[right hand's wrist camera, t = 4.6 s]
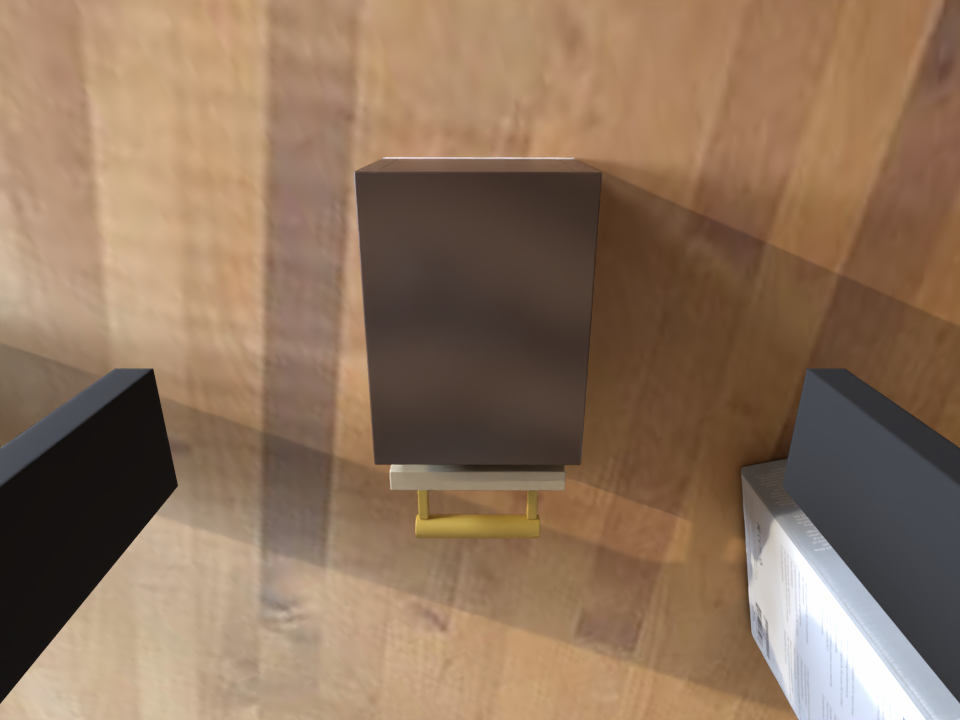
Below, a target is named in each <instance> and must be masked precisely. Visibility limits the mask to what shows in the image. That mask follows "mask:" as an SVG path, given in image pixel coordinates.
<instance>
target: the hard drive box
mask: <svg viewBox="0 0 960 720" xmlns="http://www.w3.org/2000/svg"><path fill="white" fill-rule="evenodd" d="M787 460H788V459H782V460H777V461H771V462H766V463H761V464H756V465H750V466H745V467H743V468H742V469H741V477H742V489H743V510H744V522H745V536H746V554H747V570H748V593H749V605H750V617H751V631H752V635H753V637H754V639H755V641H756V643H757V645H758V647H759V649H760V650H761V652H762V654H763V656H764V658H765V660H766V661H767V663H768V665H769V667H770V669H771V671H772V672H773V674H774V676H775V678H776V679H777V681H778V683H779V685H780V687H781V688H782V690H783V692H784V694H785V696H786V698H787V699H788V701H789V703H790V705H791V707H792V708H793V710H794V712H795V714H796V716H797V717H798V719H799V720H960V703H959V702H958V701H957V700H956V699H955V697H954V696H953V695H952V694H951V692H950V691H949V690H948V689H947V688H946V686H945V685H944V684H943V683H942V681H941V680H940V679H939V678H938V677H937V675H936V674H935V673H934V672H933V670H932V669H931V668H930V667H929V665H928V664H927V663H926V662H925V661H924V659H923V658H922V657H921V656H920V654H919V653H918V652H917V651H916V650H915V648H914V647H913V646H912V645H911V643H910V642H909V641H908V640H907V639H906V637H905V636H904V635H903V634H902V632H901V631H900V630H899V629H898V627H897V626H896V625H895V624H894V623H893V621H892V620H891V619H890V618H889V616H888V615H887V614H886V613H885V612H884V610H883V609H882V608H881V607H880V605H879V604H878V603H877V602H876V601H875V599H874V598H873V597H872V596H871V594H870V593H869V592H868V591H867V590H866V588H865V587H864V586H863V585H862V583H861V582H860V581H859V580H858V578H857V577H856V576H855V575H854V574H853V572H852V571H851V570H850V569H849V567H848V566H847V565H846V564H845V563H844V561H843V560H842V559H841V558H840V556H839V555H838V554H837V553H836V552H835V550H834V549H833V548H832V547H831V545H830V544H829V543H828V542H827V540H826V539H825V538H824V537H823V536H822V534H821V533H820V532H819V531H818V529H817V528H816V527H815V526H814V525H813V523H812V522H811V521H810V520H809V518H808V517H807V516H806V515H805V514H804V512H803V511H802V510H801V509H800V507H799V506H798V505H797V504H796V502H795V501H794V500H793V499H792V498H791V496H790V495H789V494H788V493H787V491H786V490H785V489H784V488H783V487H782V484H783V479H784V474H785V469H786V465H787Z"/></svg>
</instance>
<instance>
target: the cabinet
mask: <svg viewBox="0 0 960 720" xmlns="http://www.w3.org/2000/svg"><path fill="white" fill-rule="evenodd" d="M601 178H602V172H600V171H598V170H596V169H593V168H591V167H589V166H587V165H585V164H583V163H581V162H579V161H577V160H575V159H574V158H477V157H384V158H381V160H378V161H376V162H374V163H372V164H369V165H367V166H365V167H363V168H361V169H358V170H357V171H355V172H354V183H355V197H356V211H357V225H358V239H359V253H360V267H361V281H362V296H363V310H364V324H365V338H366V352H367V366H368V380H369V394H370V408H371V422H372V436H373V450H374V463H375V464H376V465H580V464H581V455H582V441H583V427H584V413H585V400H586V386H587V372H588V358H589V344H590V330H591V317H592V303H593V289H594V275H595V261H596V248H597V234H598V220H599V206H600V192H601Z"/></svg>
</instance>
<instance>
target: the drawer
mask: <svg viewBox="0 0 960 720" xmlns="http://www.w3.org/2000/svg"><path fill="white" fill-rule="evenodd" d="M565 477H566V471H565V467H564V465H391V469H390V486H391V490H418V508H419V514H418V515H417V516H416V526H415V532H416V538H539V537H540V517H539V515H537V502H538V490H565ZM428 490H527V515H486V514H429V494H428Z"/></svg>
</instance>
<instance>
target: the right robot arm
mask: <svg viewBox="0 0 960 720" xmlns="http://www.w3.org/2000/svg"><path fill="white" fill-rule="evenodd" d="M177 487H178V484H177V479H176V474H175V469H174V465H173V460H172V455H171V451H170V446H169V441H168V436H167V432H166V427H165V422H164V418H163V413H162V408H161V403H160V399H159V394H158V389H157V385H156V380H155V375H154V370H153V369H114V370H112V371H111V372H109V373H108V374H107V375H105V376H104V377H102V378H101V379H99V380H98V381H96V382H95V383H94V384H92V385H91V386H89V387H88V388H86V389H85V390H83V391H82V392H81V393H79V394H78V395H76V396H75V397H73V398H72V399H70V400H69V401H68V402H66V403H65V404H63V405H62V406H60V407H59V408H57V409H56V410H55V411H53V412H52V413H50V414H49V415H47V416H46V417H44V418H43V419H42V420H40V421H39V422H37V423H36V424H34V425H33V426H32V427H30V428H29V429H27V430H26V431H24V432H23V433H21V434H20V435H19V436H17V437H16V438H14V439H13V440H11V441H10V442H8V443H7V444H6V445H4V446H3V447H1V448H0V703H1V702H2V701H3V700H4V699H5V697H6V696H7V695H8V694H9V692H10V691H11V690H12V689H13V688H14V686H15V685H16V684H17V683H18V681H19V680H20V679H21V678H22V677H23V675H24V674H25V673H26V672H27V670H28V669H29V668H30V667H31V665H32V664H33V663H34V662H35V661H36V659H37V658H38V657H39V656H40V654H41V653H42V652H43V651H44V650H45V648H46V647H47V646H48V645H49V643H50V642H51V641H52V640H53V639H54V637H55V636H56V635H57V634H58V632H59V631H60V630H61V629H62V627H63V626H64V625H65V624H66V623H67V621H68V620H69V619H70V618H71V616H72V615H73V614H74V613H75V612H76V610H77V609H78V608H79V607H80V605H81V604H82V603H83V602H84V601H85V599H86V598H87V597H88V596H89V594H90V593H91V592H92V591H93V589H94V588H95V587H96V586H97V585H98V583H99V582H100V581H101V580H102V578H103V577H104V576H105V575H106V574H107V572H108V571H109V570H110V569H111V567H112V566H113V565H114V564H115V563H116V561H117V560H118V559H119V558H120V556H121V555H122V554H123V553H124V552H125V550H126V549H127V548H128V547H129V545H130V544H131V543H132V542H133V540H134V539H135V538H136V537H137V536H138V534H139V533H140V532H141V531H142V529H143V528H144V527H145V526H146V525H147V523H148V522H149V521H150V520H151V518H152V517H153V516H154V515H155V514H156V512H157V511H158V510H159V509H160V507H161V506H162V505H163V504H164V502H165V501H166V500H167V499H168V498H169V496H170V495H171V494H172V493H173V491H174V490H175V489H176V488H177ZM782 487H783V488H784V489H785V490H786V491H787V493H788V494H789V495H790V496H791V498H792V499H793V500H794V501H795V502H796V504H797V505H798V506H799V507H800V509H801V510H802V511H803V512H804V514H805V515H806V516H807V517H808V518H809V520H810V521H811V522H812V523H813V525H814V526H815V527H816V528H817V529H818V531H819V532H820V533H821V534H822V536H823V537H824V538H825V539H826V540H827V542H828V543H829V544H830V545H831V547H832V548H833V549H834V550H835V552H836V553H837V554H838V555H839V556H840V558H841V559H842V560H843V561H844V563H845V564H846V565H847V566H848V567H849V569H850V570H851V571H852V572H853V574H854V575H855V576H856V577H857V578H858V580H859V581H860V582H861V583H862V585H863V586H864V587H865V588H866V590H867V591H868V592H869V593H870V594H871V596H872V597H873V598H874V599H875V601H876V602H877V603H878V604H879V605H880V607H881V608H882V609H883V610H884V612H885V613H886V614H887V615H888V616H889V618H890V619H891V620H892V621H893V623H894V624H895V625H896V626H897V627H898V629H899V630H900V631H901V632H902V634H903V635H904V636H905V637H906V639H907V640H908V641H909V642H910V643H911V645H912V646H913V647H914V648H915V650H916V651H917V652H918V653H919V654H920V656H921V657H922V658H923V659H924V661H925V662H926V663H927V664H928V665H929V667H930V668H931V669H932V670H933V672H934V673H935V674H936V675H937V677H938V678H939V679H940V680H941V681H942V683H943V684H944V685H945V686H946V688H947V689H948V690H949V691H950V692H951V694H952V695H953V696H954V697H955V699H956V700H957V701H958V702H959V703H960V448H959V447H957V446H956V445H954V444H953V443H952V442H950V441H949V440H947V439H946V438H944V437H943V436H941V435H940V434H939V433H937V432H936V431H934V430H933V429H931V428H930V427H928V426H927V425H926V424H924V423H923V422H921V421H920V420H918V419H917V418H916V417H914V416H913V415H911V414H910V413H908V412H907V411H905V410H904V409H903V408H901V407H900V406H898V405H897V404H895V403H894V402H892V401H891V400H890V399H888V398H887V397H885V396H884V395H882V394H881V393H879V392H878V391H877V390H875V389H874V388H872V387H871V386H869V385H868V384H866V383H865V382H864V381H862V380H861V379H859V378H858V377H856V376H855V375H853V374H852V373H851V372H849V371H848V370H846V369H807V370H806V375H805V380H804V385H803V389H802V394H801V399H800V403H799V408H798V413H797V418H796V422H795V427H794V432H793V436H792V441H791V446H790V451H789V455H788V460H787V465H786V469H785V474H784V479H783V484H782Z"/></svg>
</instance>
